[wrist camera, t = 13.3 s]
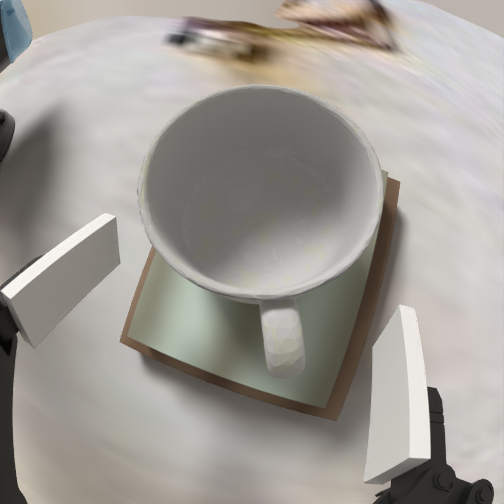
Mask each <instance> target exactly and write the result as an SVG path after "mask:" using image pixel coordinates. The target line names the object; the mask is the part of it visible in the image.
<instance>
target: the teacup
mask: <svg viewBox="0 0 504 504" xmlns="http://www.w3.org/2000/svg"><path fill="white" fill-rule="evenodd" d="M137 193H138V204H139V207H140V214H141V219H142V223H143V225H144V228H145V231H146V234H147V236H148V238H149V240H150V242H151V244H152V245H153V247H154V248H155V249H156V251H157V252H158V253H159V254H160V255H161V257H162V258H163V259H164V260H165V261H166V262H167V264H168V265H169V266H170V267H172V268H173V269H174V270H175V271H176V272H177V273H179V274H180V275H181V276H182V277H184V278H185V279H187V280H188V281H190V282H192V283H193V284H195V285H197V286H198V287H201V288H203V289H206V290H208V291H211V292H213V293H215V294H217V295H220V296H222V297H224V298H227V299H230V300H234V301H238V302H242V303H248V304H259V308H260V317H261V324H262V332H263V338H264V349H265V356H266V363H267V369H268V372H269V374H270V375H271V376H272V377H274V378H281V379H285V378H290V377H294V376H297V375H299V374H300V373H302V372H303V371H304V368H305V347H304V338H303V330H302V325H301V319H300V314H299V310H298V306H297V302H296V298H298V297H300V296H302V295H305V294H307V293H309V292H310V291H312V290H314V289H317V288H319V287H321V286H323V285H325V284H327V283H329V282H330V281H332V280H334V279H336V278H337V277H338V276H340V275H341V274H343V273H344V272H345V271H347V270H348V269H349V268H350V267H351V266H352V265H354V264H355V263H356V262H357V261H358V260H359V258H360V257H361V256H362V254H363V253H364V252H365V250H366V249H367V248H368V246H369V245H370V243H371V241H372V239H373V237H374V235H375V233H376V231H377V228H378V225H379V223H380V220H381V215H382V211H383V198H384V182H383V177H382V171H381V167H380V164H379V161H378V158H377V156H376V153H375V151H374V149H373V147H372V146H371V144H370V142H369V141H368V139H367V138H366V136H365V134H364V133H363V132H362V131H361V129H360V128H359V127H358V126H357V125H356V124H355V123H354V122H353V121H352V120H351V119H350V118H349V117H348V116H347V115H346V114H344V113H343V112H342V111H341V110H340V109H338V108H337V107H335V106H334V105H332V104H331V103H329V102H327V101H325V100H323V99H321V98H320V97H317V96H315V95H313V94H310V93H307V92H304V91H301V90H298V89H293V88H288V87H283V86H277V85H261V84H247V85H245V86H238V87H232V88H228V89H224V90H219V91H217V92H214V93H212V94H210V95H207V96H204V97H202V98H200V99H198V100H196V101H194V102H193V103H191V104H190V105H188V106H187V107H185V108H183V109H182V110H181V111H180V112H178V113H177V114H176V115H175V116H174V117H173V118H172V119H171V120H170V121H168V122H167V124H166V125H165V126H164V127H163V128H162V129H161V131H160V132H159V133H158V134H157V136H156V137H155V139H154V141H153V142H152V144H151V145H150V147H149V149H148V152H147V154H146V156H145V158H144V160H143V164H142V167H141V172H140V176H139V181H138V189H137Z"/></svg>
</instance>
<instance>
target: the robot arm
mask: <svg viewBox="0 0 504 504" xmlns="http://www.w3.org/2000/svg"><path fill="white" fill-rule="evenodd" d="M31 41H32V29H31V25H30V22H29V19H28V16H27V13H26V11H25V9H24V6H23V4H22V2H21V0H0V73H1V72H2V71H3V70H4V69H5V68H6V67H7V66H8V65H10V64H11V63H13V62H14V61H15V59H16V58H17V57H18V56H19V55H20V54H21V53H23V52H24V51H25V50H26V49H27V48H28V47H29V45H30V44H31ZM13 130H14V118H13V117H12V116H11V115H10V114H9V113H8V112H6V111H5V110H2V109H0V161H1V159H2V157H3V156H4V154H5V152H6V150H7V147H8V145H9V143H10V140H11V137H12V134H13ZM119 264H120V256H119V246H118V235H117V222H116V216H113V215H110V214H106V213H104V214H102V215H101V216H99V217H98V218H96V219H95V220H93V221H92V222H90V223H89V224H87V225H86V226H84V227H83V228H81V229H80V230H78V231H77V232H76V233H74V234H73V235H71V236H70V237H68V238H67V239H66V240H64V241H63V242H61V243H60V244H59V245H57V246H56V247H55V248H53V249H52V250H51V251H49V252H48V253H47V254H44V255H42V256H39V257H37V258H35V259H34V260H32V261H31V262H30V263H28V264H27V266H26V267H23V268H22V269H21V270H20V272H19V271H18V272H17V273H16V274H15V275H13V276H12V277H11V278H10V279H9V280H7V281H6V282H5V283H4V284H3V285H1V286H0V504H27V501H26V499H25V497H24V496H23V494H22V493H21V491H20V490H19V487H18V484H17V477H16V469H15V459H14V447H13V422H12V406H13V381H14V368H15V357H16V349H17V335H16V333H17V332H18V331H20V333H21V335H22V337H23V339H24V340H25V341H26V342H27V343H28V344H29V345H31V346H32V347H33V348H34V349H35V348H36V346H37V345H38V344H39V343H40V342H41V341H42V340H43V339H44V338H45V337H46V336H47V335H48V334H49V333H50V331H51V330H52V329H53V328H54V327H55V326H56V325H57V324H58V323H59V322H60V321H61V320H62V319H63V318H64V317H65V316H66V315H67V314H68V313H69V312H70V311H71V310H72V309H73V308H74V307H75V306H76V305H77V304H78V303H79V302H80V301H81V300H82V299H83V298H84V297H85V296H86V295H87V294H88V293H89V292H90V291H91V290H92V289H93V288H94V287H96V286H97V285H98V284H99V283H100V282H101V281H102V280H103V279H104V278H105V277H106V276H107V275H108V274H109V273H110V272H112V271H113V270H114V269H115V268H116V267H117V266H118V265H119ZM442 414H443V406H442V399H441V397H440V395H439V393H438V391H437V388H432V387H427V383H426V375H425V367H424V359H423V353H422V346H421V340H420V334H419V328H418V323H417V318H416V313H415V309H414V308H411V307H407V306H404V305H400V304H399V306H398V308H397V309H396V311H395V313H394V314H393V316H392V317H391V319H390V321H389V322H388V324H387V325H386V327H385V329H384V330H383V332H382V333H381V335H380V336H379V338H378V339H377V341H376V342H375V344H374V345H373V347H372V395H371V413H370V427H369V438H368V448H367V457H366V465H365V473H364V480H363V483H370V484H384V483H386V482H388V481H390V480H391V487H390V488H388V489H386V490H383V491H381V492H379V493H378V494H376V495H375V496H376V497H378V496H380V497H379V498H378V499H377V500H376V501H375V502H374V503H373V504H492V501H493V497H494V490H493V486H492V484H491V483H490V482H489V481H488V480H486V479H481V480H478V481H476V482H474V483H469V482H466V481H464V480H461V479H458V478H456V475H455V472H454V470H453V469H452V467H450V466H449V465H447V463H446V445H445V428H444V425H443V423H444V416H443V415H442Z"/></svg>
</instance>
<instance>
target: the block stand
mask: <svg viewBox="0 0 504 504" xmlns="http://www.w3.org/2000/svg"><path fill="white" fill-rule="evenodd" d="M381 171H382V177H383V182H384V198H383V211H382V215H381V220H380V223H379V225H378V228H377V231H376V233H375V235H374V237H373V239H372V241H371V243H370V245H369V246H368V248H367V249H366V250H365V252H364V253H363V254H362V256H361V257H360V258H359V260H358V261H357V262H356V263H355V264H354V265H352V266H351V267H350V268H349V269H348V270H347V271H345V272H344V273H343V274H341V275H340V276H338V277H337V278H336V279H334V280H332V281H330V282H329V283H327V284H325V285H323V286H321V287H319V288H317V289H314V290H312V291H310V292H309V293H307V294H305V295H302V296H300V297H298V298H296V302H297V306H298V310H299V314H300V319H301V325H302V330H303V338H304V347H305V368H304V371H303V372H302V373H300V374H299V375H297V376H294V377H290V378H285V379H281V378H274V377H272V376H271V375H270V374H269V372H268V369H267V363H266V356H265V349H264V338H263V332H262V324H261V317H260V308H259V304H248V303H242V302H238V301H234V300H230V299H227V298H224V297H222V296H220V295H217V294H215V293H213V292H211V291H208V290H206V289H203V288H201V287H198V286H197V285H195V284H193V283H192V282H190V281H188V280H187V279H185V278H184V277H182V276H181V275H180V274H179V273H177V272H176V271H175V270H174V269H173V268H172V267H170V266H169V265H168V264H167V262H166V261H165V260H164V259H163V258H162V257H161V255H160V254H159V253H158V252H157V251H156V249H155V248H154V247H153V245H152V248H151V250H150V253H149V256H148V258H147V261H146V264H145V266H144V269H143V272H142V275H141V277H140V280H139V283H138V286H137V289H136V292H135V295H134V298H133V300H132V303H131V307H130V310H129V313H128V316H127V319H126V322H125V325H124V328H123V332H122V335H121V338H120V342H121V343H123V344H125V345H127V346H128V347H130V348H132V349H134V350H137V351H139V352H141V353H143V354H145V355H147V356H149V357H151V358H153V359H155V360H158V361H160V362H162V363H164V364H166V365H169V366H171V367H173V368H175V369H178V370H180V371H182V372H185V373H187V374H190V375H192V376H194V377H197V378H199V379H202V380H204V381H207V382H210V383H212V384H215V385H218V386H220V387H223V388H226V389H228V390H231V391H234V392H237V393H240V394H243V395H246V396H249V397H252V398H255V399H258V400H261V401H264V402H267V403H270V404H274V405H277V406H280V407H284V408H287V409H291V410H294V411H298V412H302V413H306V414H310V415H314V416H318V417H322V418H326V419H330V420H335V421H336V420H337V418H338V415H339V413H340V411H341V408H342V406H343V403H344V401H345V398H346V395H347V393H348V390H349V388H350V385H351V382H352V379H353V377H354V374H355V371H356V368H357V365H358V362H359V359H360V356H361V353H362V350H363V347H364V344H365V341H366V338H367V335H368V331H369V328H370V325H371V321H372V318H373V314H374V310H375V307H376V303H377V299H378V295H379V292H380V288H381V283H382V279H383V275H384V271H385V266H386V262H387V257H388V252H389V248H390V243H391V237H392V232H393V227H394V221H395V215H396V209H397V202H398V195H399V188H400V181H397V180H394V179H392V178H389V177H388V172H386V171H383V170H381Z"/></svg>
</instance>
